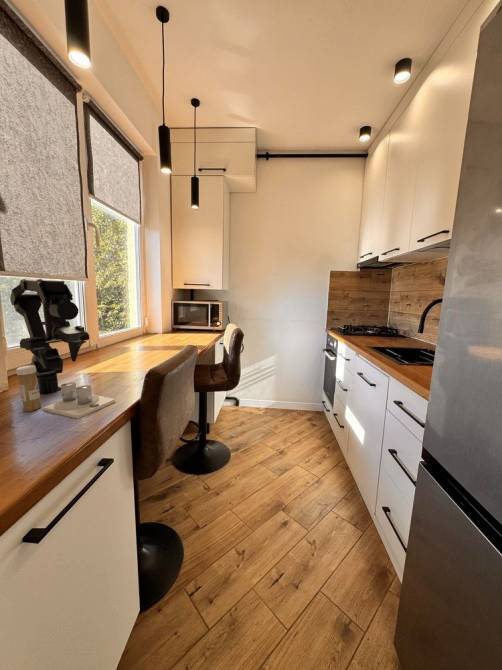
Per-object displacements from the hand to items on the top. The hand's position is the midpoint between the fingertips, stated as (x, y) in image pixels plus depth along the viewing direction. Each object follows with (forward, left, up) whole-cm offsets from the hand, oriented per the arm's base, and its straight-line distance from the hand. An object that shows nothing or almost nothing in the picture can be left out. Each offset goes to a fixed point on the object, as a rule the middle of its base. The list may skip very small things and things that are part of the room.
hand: (60, 364), depth 88 cm
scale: (+11, -2, -12) cm, 16 cm away
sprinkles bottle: (-1, -9, -12) cm, 15 cm away
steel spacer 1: (+6, -2, -10) cm, 12 cm away
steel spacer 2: (+13, -2, -10) cm, 17 cm away
